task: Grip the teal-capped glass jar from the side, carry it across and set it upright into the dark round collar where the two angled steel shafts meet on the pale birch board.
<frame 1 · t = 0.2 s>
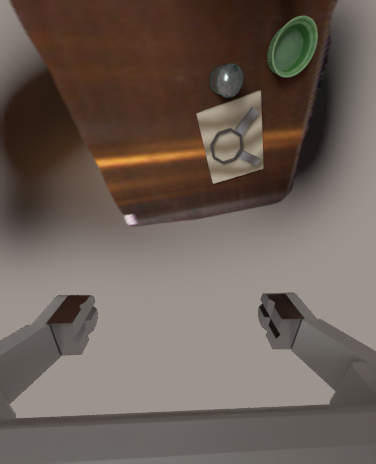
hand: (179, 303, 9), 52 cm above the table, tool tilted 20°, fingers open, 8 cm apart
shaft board: (232, 142, 53), on the table
ramekin: (284, 51, 41), on the table
teal-capped glass jar: (220, 80, 43), on the table
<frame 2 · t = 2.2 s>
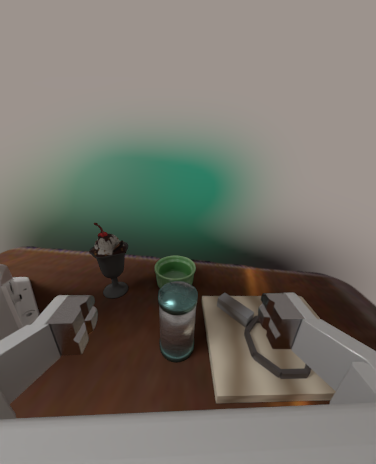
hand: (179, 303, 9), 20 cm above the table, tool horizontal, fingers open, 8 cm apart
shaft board: (268, 339, 29), on the table
ramekin: (175, 283, 42), on the table
sundae: (115, 290, 39), on the table
teal-capped glass jar: (176, 344, 28), on the table
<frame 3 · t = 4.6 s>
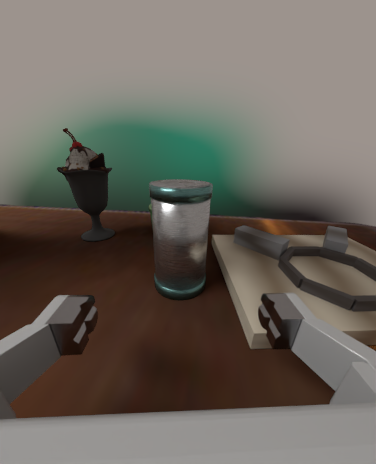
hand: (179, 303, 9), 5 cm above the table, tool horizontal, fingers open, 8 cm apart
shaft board: (312, 276, 20), on the table
sundae: (98, 236, 29), on the table
teal-capped glass jar: (180, 281, 19), on the table
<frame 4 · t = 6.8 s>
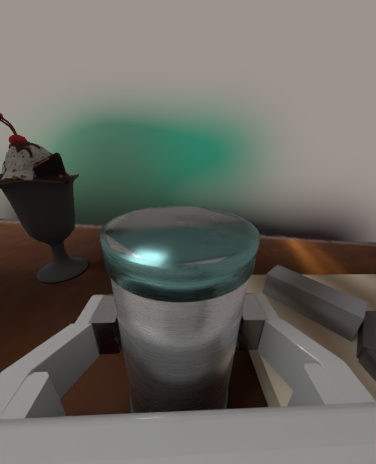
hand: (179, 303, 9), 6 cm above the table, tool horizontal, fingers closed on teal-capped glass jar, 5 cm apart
sundae: (63, 270, 21), on the table
teal-capped glass jar: (179, 391, 10), on the table, touching gripper
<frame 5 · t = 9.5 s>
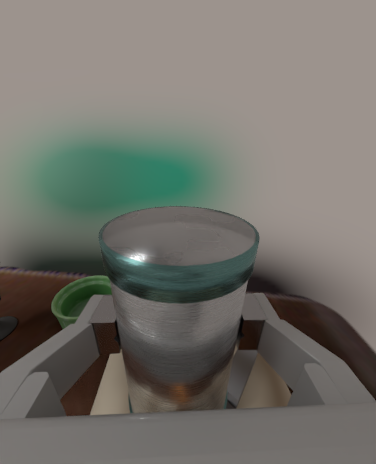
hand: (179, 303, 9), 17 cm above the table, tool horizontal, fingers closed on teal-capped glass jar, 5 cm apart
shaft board: (196, 433, 17), on the table
ramekin: (92, 316, 29), on the table
teal-capped glass jar: (178, 391, 10), point 12 cm above the table, touching gripper
when the fingers open (8 cm above the table, at t = 12.3 s): teal-capped glass jar stays where it is, resting on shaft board.
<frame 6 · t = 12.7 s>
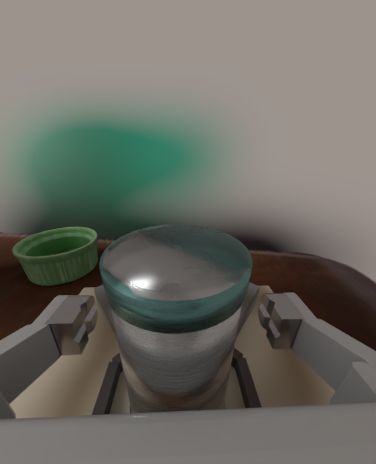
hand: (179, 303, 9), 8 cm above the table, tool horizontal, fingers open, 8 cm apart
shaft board: (178, 377, 13), on the table
ramekin: (66, 269, 25), on the table
teal-capped glass jar: (178, 401, 11), point 2 cm above the table, touching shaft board
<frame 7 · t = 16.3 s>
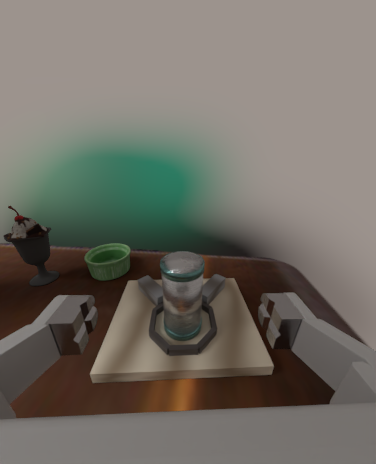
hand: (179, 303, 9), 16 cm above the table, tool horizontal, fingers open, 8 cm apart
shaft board: (182, 319, 28), on the table
ramekin: (111, 270, 40), on the table
sundae: (45, 279, 37), on the table
teal-capped glass jar: (182, 323, 25), point 1 cm above the table, touching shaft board
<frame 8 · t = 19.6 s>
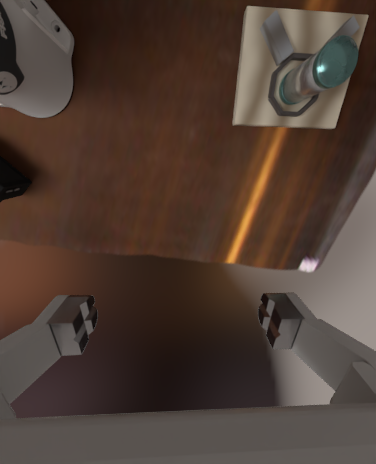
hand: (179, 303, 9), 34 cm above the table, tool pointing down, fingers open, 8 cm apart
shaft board: (291, 77, 33), on the table
digital camera: (2, 171, 38), on the table
teal-capped glass jar: (293, 87, 33), point 1 cm above the table, touching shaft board
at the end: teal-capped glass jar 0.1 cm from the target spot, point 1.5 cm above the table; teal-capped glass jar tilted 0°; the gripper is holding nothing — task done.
